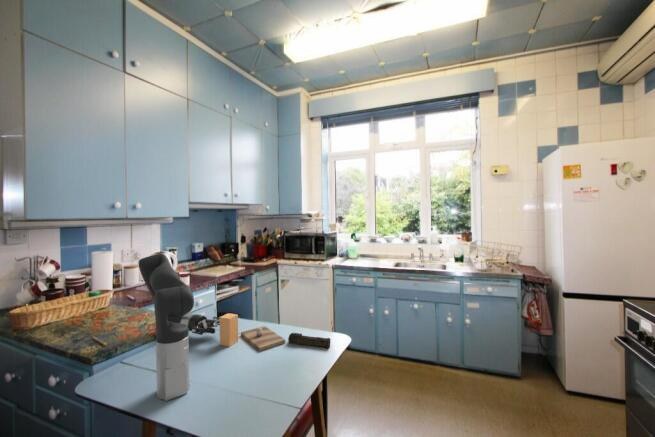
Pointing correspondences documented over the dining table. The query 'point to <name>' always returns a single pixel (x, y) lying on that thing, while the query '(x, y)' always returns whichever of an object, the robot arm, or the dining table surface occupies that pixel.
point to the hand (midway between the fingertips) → (221, 327)
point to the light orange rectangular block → (228, 329)
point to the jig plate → (262, 338)
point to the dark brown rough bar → (308, 340)
